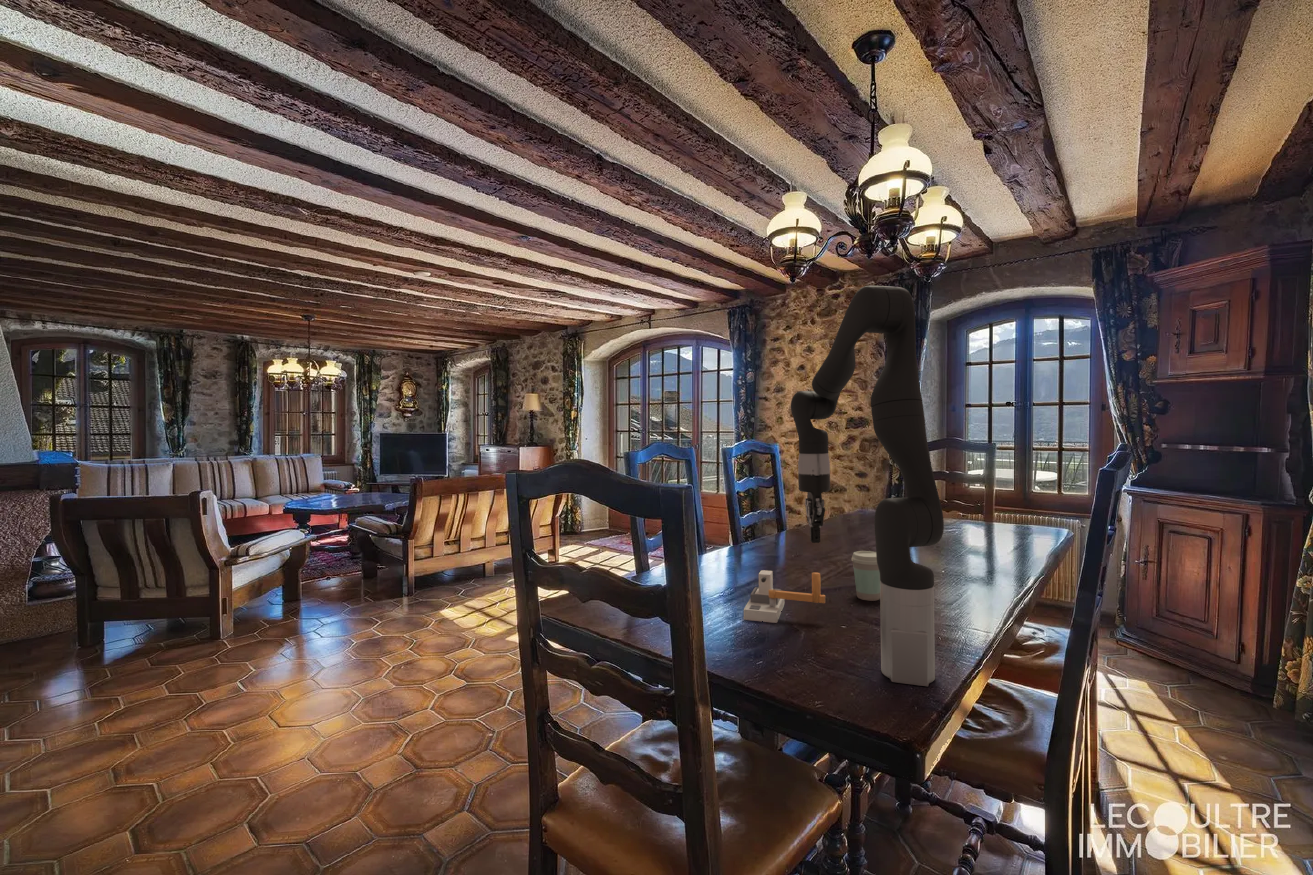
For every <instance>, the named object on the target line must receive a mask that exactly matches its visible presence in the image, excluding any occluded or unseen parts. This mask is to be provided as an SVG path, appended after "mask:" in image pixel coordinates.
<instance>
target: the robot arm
mask: <svg viewBox="0 0 1313 875" xmlns="http://www.w3.org/2000/svg"><path fill="white" fill-rule="evenodd" d="M913 299H914V298H913V297H912V295H911V293H910V291H909V290H907V289H906V288H903V287H899V286H889V285H887V286H886V285H866V286H863V287H860V289H858V290H857V291H856V292H855V294H854V295H853V296H852V298H851V300H850V303H849V304H848V306H847V309H846V311H845V313H844V315H843V318H842V320H841V323H840V325H839V327H838V331H837V333H836V336H835V338H834V341H833V343H832V345H831V348H830V350H829V352H828V354H827V356H826V358H825V359H824V361H823V362H822V363H821V366H820V367H819V369H818V370H817V372H816V373H815V375H813V376H814V377H813V379H812V381H811V388H812V390H800V391H797V392H796V393H794V395H793V396H792V398H791V402H790V411H791V414H792V417H793V421H794V423H795V428H796V432H797V436H798V437H797V438H798V462H797V465H798V466H797V468H798V469H797V472H798V473H797V474H798V475H797V477H798V478H797V479H798V491H799V492H802V493H807V494H806V497H805V498H804V505H805V506H804V508H805V513H806V522H807V523H808V526H809V541H810V542H811V543H813V544H819V543H821V528H822V527H823V526H824V519H825V514H826V508H825V499H823V497H822V496H823V495H822V494H823V493H828V492H830V490H831V464H830V463H831V462H830V454H829V435H828V434H829V433H828V432H827V430H824V429H821V428H816V427H814V425H813V423H812V421H811V420H827V419H828V418H831V417H832V415H834V413H835V412H836V409H837V405H838V402H839V398H840V395H841V392H842V391H843V389H844V388H845V387H846V386H847V384H848V382H850V380H851V379H852V377H853V375H854V373H855V369H856V352H855V347H856V344H857V343H858V342H859V340H860V339H861V338H862V336H863V335H865V334H866V333H867V334H884V336H885V340H886V341H885V342H886V359H885V363H884V365H883V368H882V370H881V373H880V374H879V377H877V378H878V379H877V381H876V383H875V386H874V387H873V390H872V393H871V396H870V409H871V417H872V425H873V430H874V431H873V432H874V433H875V435H876V438H877V439H878V441H879V443H880V444H881V446H882V447H883V449H885V451H886V452H887V453H888V455H889V456H890V457H891V459H892V460H893V461H894V463H895V465H896V466H897V467H898V470H899V471H900V474H901V475H902V480H903V482H904V483H903V484H904V487H905V493H906V497H905V496H904V497H890V498H884V499H882V500H881V501H880V502H879V503H878V504H877V505H876V508H875V512H874V521H873V522H874V538H875V540H874V541H875V552H876V558H877V564H878V568H879V572H880V599H879V601H880V602H879V603H880V605H879V607H880V609H879V610H880V613H879V614H880V618H879V619H880V671H881V673H882V674H883V675H884V676H885V677H886V678H889V680H890V682H891V683H898V684H904V685H905V684H906V685H914V686H923V687H929V685H930V684H931V683H933V682H934V681H935V679H936V658H935V656H936V654H935V653H936V652H935V648H936V647H935V644H936V643H935V574H934V572H933V570H932V568H930V567H928V566H926V565H923V564H920V563H917V562H914V561H913V560H912V557H911V552H910V551H911V550H910V548H915V547H917V548H918V547H919V548H920V547H931V546H934V545H937V544H938V543H939V542H940V541H941V540H942V538H943V535H944V528H945V523H944V522H945V520H944V514H943V508H942V503H941V499H940V495H939V490H938V487H937V483H936V480H935V476H934V471H933V466H932V462H931V456H930V450H929V443H928V438H927V436H928V435H927V429H926V420H925V410H924V404H923V397H922V392H921V386H920V385H921V384H920V377H919V369H918V361H917V360H918V359H917V347H916V346H917V344H916V343H917V342H916V341H917V340H916V338H917V337H916V336H917V335H916V310H915V304H914V300H913Z"/></svg>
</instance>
